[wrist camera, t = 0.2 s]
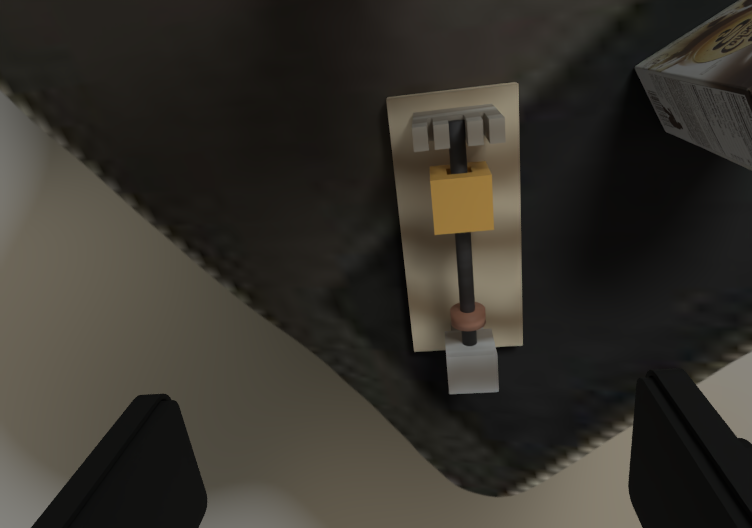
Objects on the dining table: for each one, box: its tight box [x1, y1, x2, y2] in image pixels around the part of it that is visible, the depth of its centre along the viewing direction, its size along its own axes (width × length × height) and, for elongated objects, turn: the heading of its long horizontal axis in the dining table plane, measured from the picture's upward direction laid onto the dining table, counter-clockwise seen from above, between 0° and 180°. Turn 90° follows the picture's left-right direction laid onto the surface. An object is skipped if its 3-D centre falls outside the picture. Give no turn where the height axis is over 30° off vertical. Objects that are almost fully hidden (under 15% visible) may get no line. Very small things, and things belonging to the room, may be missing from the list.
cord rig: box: [386, 82, 523, 394], centre depth 43 cm, size 23×10×9 cm, turn 7°
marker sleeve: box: [430, 161, 494, 235], centre depth 39 cm, size 4×4×4 cm
